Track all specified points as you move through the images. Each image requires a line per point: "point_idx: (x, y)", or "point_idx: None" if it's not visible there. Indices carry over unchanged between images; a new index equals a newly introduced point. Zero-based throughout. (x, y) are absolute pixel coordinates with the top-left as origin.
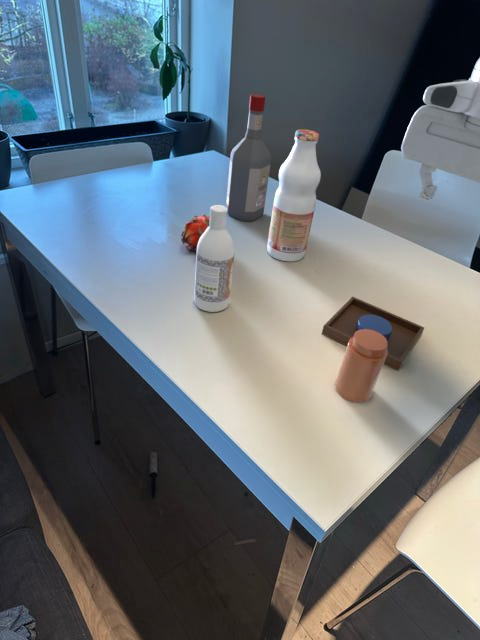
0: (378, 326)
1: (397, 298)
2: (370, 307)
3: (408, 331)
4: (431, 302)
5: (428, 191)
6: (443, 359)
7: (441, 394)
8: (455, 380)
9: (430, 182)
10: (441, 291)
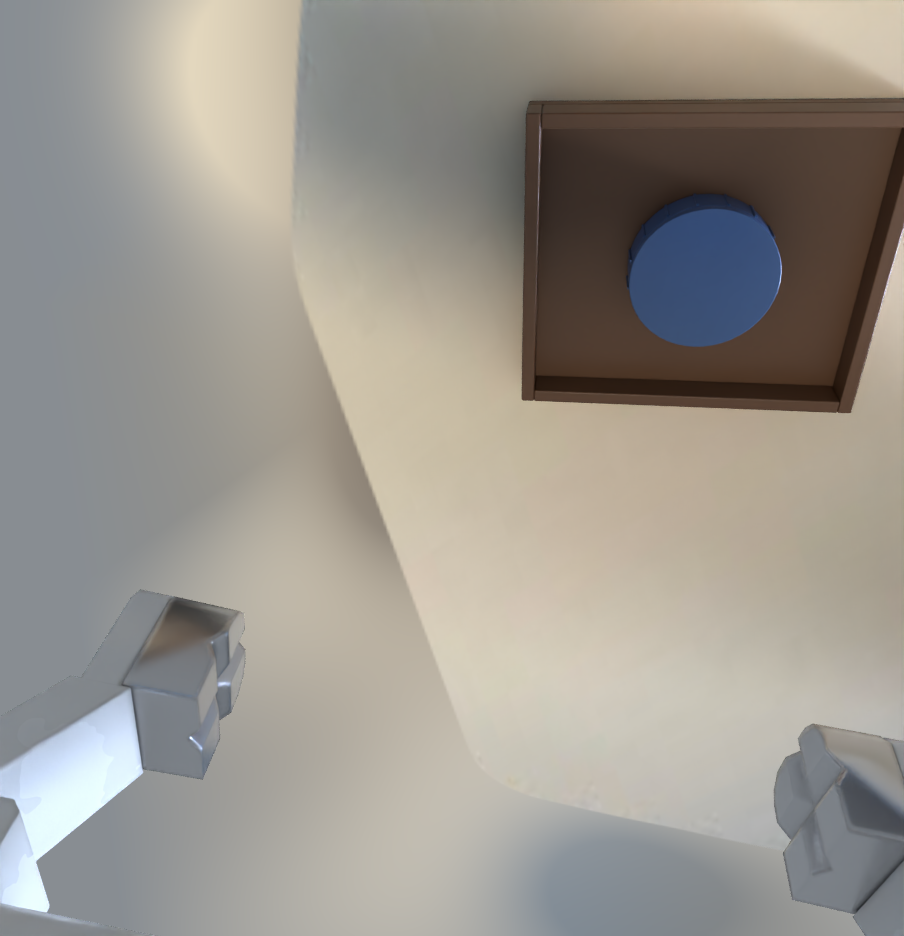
0: (688, 276)
1: (668, 536)
2: (754, 394)
3: (571, 364)
4: (552, 581)
5: (866, 796)
6: (412, 301)
7: (346, 89)
8: (336, 212)
9: (892, 922)
10: (541, 653)
